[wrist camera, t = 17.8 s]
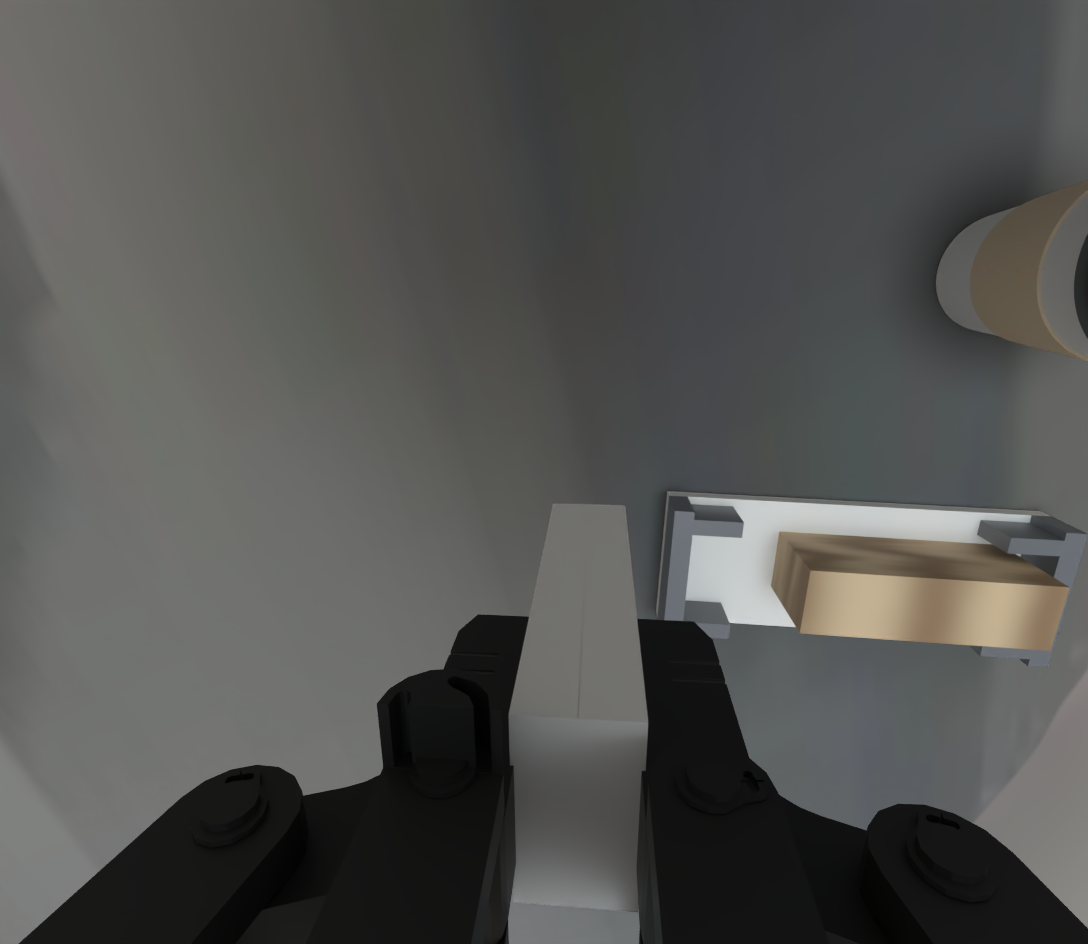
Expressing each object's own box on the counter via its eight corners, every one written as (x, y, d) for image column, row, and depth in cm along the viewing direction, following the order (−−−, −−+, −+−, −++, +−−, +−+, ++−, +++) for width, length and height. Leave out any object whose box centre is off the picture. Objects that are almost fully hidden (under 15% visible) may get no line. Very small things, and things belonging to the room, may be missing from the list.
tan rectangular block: (770, 586, 42) (799, 633, 36) (779, 531, 41) (810, 570, 35) (985, 600, 41) (1050, 650, 35) (1000, 544, 40) (1069, 587, 34)
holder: (667, 491, 41) (675, 511, 38) (1040, 510, 40) (1088, 534, 36) (655, 610, 44) (662, 641, 40) (1006, 633, 42) (1047, 667, 39)
